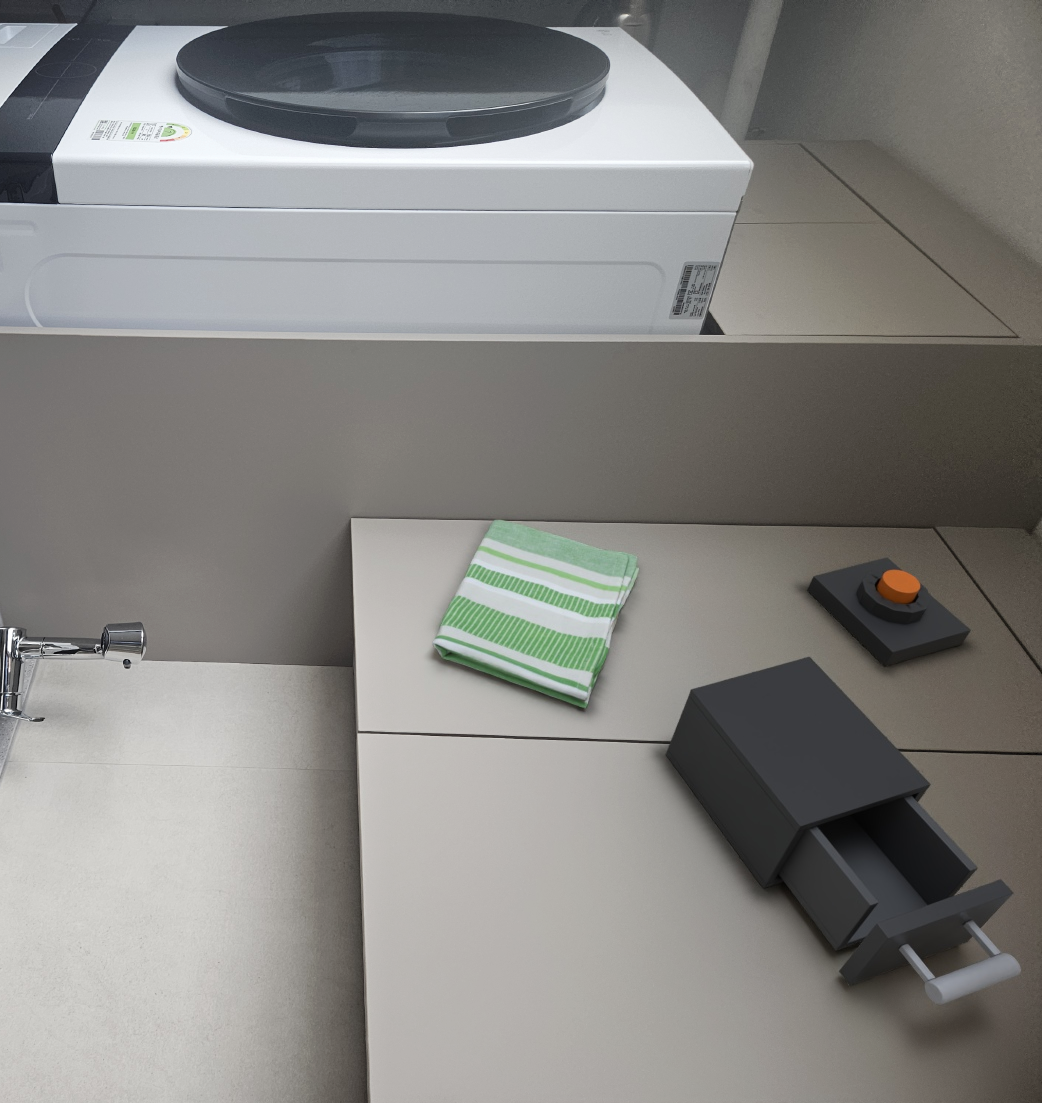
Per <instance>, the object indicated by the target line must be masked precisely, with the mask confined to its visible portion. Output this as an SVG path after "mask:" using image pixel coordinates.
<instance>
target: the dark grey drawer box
mask: <svg viewBox="0 0 1042 1103" xmlns="http://www.w3.org/2000/svg"><path fill="white" fill-rule="evenodd" d="M665 755H666V757H667V758H668V759H669V761H670V762H671V764H672V765H673V766H674V768H675V769H676V770H677V772H678V773H679V774H680V776H681V777H682V779H683V780H684V781H685V783H686V784H687V786H688V787H689V788H690V790H691V791H692V793H693V794H694V795H695V797H696V798H697V800H698V801H699V802H700V803H701V805H702V806H703V808H704V809H705V811H706V812H707V813H708V814H709V816H710V817H711V819H712V820H713V821H714V823H715V825H716V826H717V827H718V828H719V830H720V831H721V833H722V834H723V836H724V837H725V838H726V840H727V841H728V842H729V843H730V845H731V847H732V848H733V849H734V850H735V852H736V854H737V855H738V856H739V857H740V859H741V860H742V862H743V863H744V865H745V866H746V867H747V869H748V870H749V871H750V873H751V874H752V875H753V876H754V878H755V880H756V881H757V882H758V884H759V885H760V886H761V888H762V889H766V888H769V887H771V886H776V885H779V884H782V883H785V882H784V881H783V879H782V878H781V877H780V875H779V874H778V873H779V872H780V870H781V868H782V867H783V865H784V863H785V862H786V860H787V858H788V857H789V855H790V853H791V852H792V850H793V848H794V847H795V845H796V844H797V842H798V840H799V839H800V837H801V835H802V834H803V832H804V830H805V829H807V828H810V827H813V826H817V825H820V824H823V823H826V822H829V821H832V820H835V819H838V818H841V817H844V816H848V815H851V814H854V813H857V812H860V811H863V810H866V809H869V808H872V807H875V806H878V805H882V804H885V803H888V802H891V801H894V800H897V799H900V798H903V797H906V796H909V795H911V796H912V797H913V798H914V799H915V800H916V801H917V802H918V803H919V801H920V800H921V799H922V798H923V796H924V794H926V793H927V790H928V789H929V788H930V786H931V785H932V784H931V783H930V781H928V779H927V778H926V777H925V775H923V774H922V773H921V772H920V771H919V770H918V769H917V768H916V767H915V766H914V764H912V763H911V761H909V759H908V758H906V756H905V755H904V754H903V753H902V752H901V751H900V750H899V749H898V747H897V746H895V744H894V743H893V742H892V741H891V740H890V739H889V738H888V737H887V736H886V735H885V734H884V733H883V732H882V731H881V730H880V729H879V727H877V726H876V724H874V723H873V721H872V720H871V719H870V718H869V717H868V716H866V714H865V713H864V712H863V711H862V710H861V709H860V708H859V707H858V706H857V705H856V703H855V702H853V701H852V699H851V698H850V697H849V696H848V695H847V694H846V693H845V692H844V691H843V690H842V689H841V688H840V687H839V686H838V684H836V683H835V681H833V679H832V678H831V677H830V676H829V675H828V674H827V673H826V672H825V671H824V670H823V669H822V668H821V667H820V666H819V665H818V664H817V663H816V662H815V660H814V659H813V658H812V657H811V656H805V657H803V658H799V659H795V660H792V661H788V662H785V663H781V664H778V665H774V666H770V667H766V668H762V669H760V670H756V671H751V672H748V673H744V674H741V675H738V676H734V677H731V678H728V679H727V678H726V679H724V680H720V681H716V682H713V683H709V684H705V685H702V686H701V685H700V686H698V687H694V688H691V689H690V691H689V694H688V695H687V699H686V702H685V703H684V706H683V709H682V711H681V714H680V717H679V719H678V721H677V724H676V726H675V729H674V732H673V735H672V737H671V740H670V741H669V744H668V747H667V750H666V753H665Z"/></svg>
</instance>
